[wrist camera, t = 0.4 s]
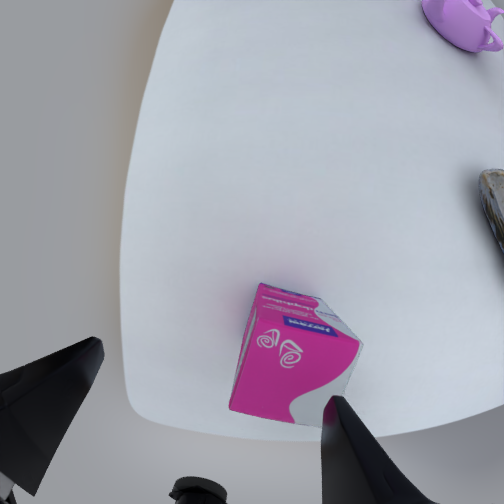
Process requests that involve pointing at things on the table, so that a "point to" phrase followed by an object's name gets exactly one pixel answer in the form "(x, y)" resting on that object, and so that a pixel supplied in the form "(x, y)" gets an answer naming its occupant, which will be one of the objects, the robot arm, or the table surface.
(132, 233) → the table surface
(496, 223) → the seashell
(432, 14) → the teapot
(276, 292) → the supplement box
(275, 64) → the table surface
